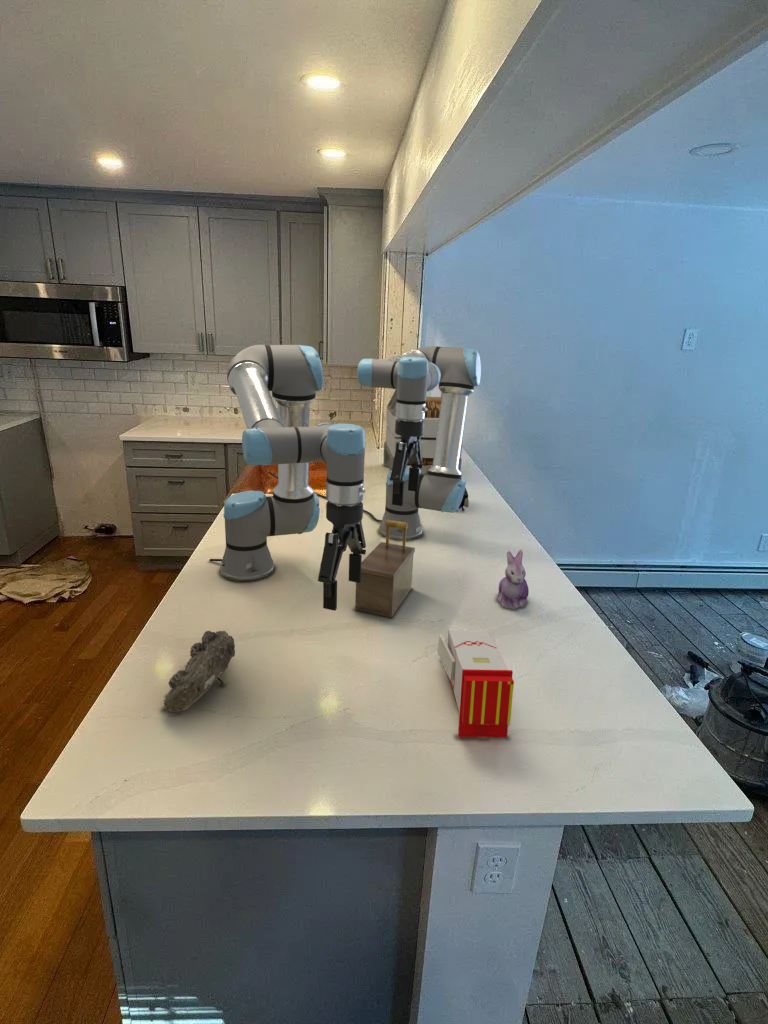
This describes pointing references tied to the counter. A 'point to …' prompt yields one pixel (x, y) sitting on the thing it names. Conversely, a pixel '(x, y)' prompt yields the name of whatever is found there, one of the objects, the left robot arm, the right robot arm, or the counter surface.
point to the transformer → (426, 439)
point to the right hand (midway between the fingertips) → (405, 497)
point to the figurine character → (464, 500)
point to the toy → (478, 682)
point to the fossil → (200, 670)
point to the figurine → (513, 583)
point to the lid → (388, 554)
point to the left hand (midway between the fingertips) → (342, 594)
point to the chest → (383, 591)
